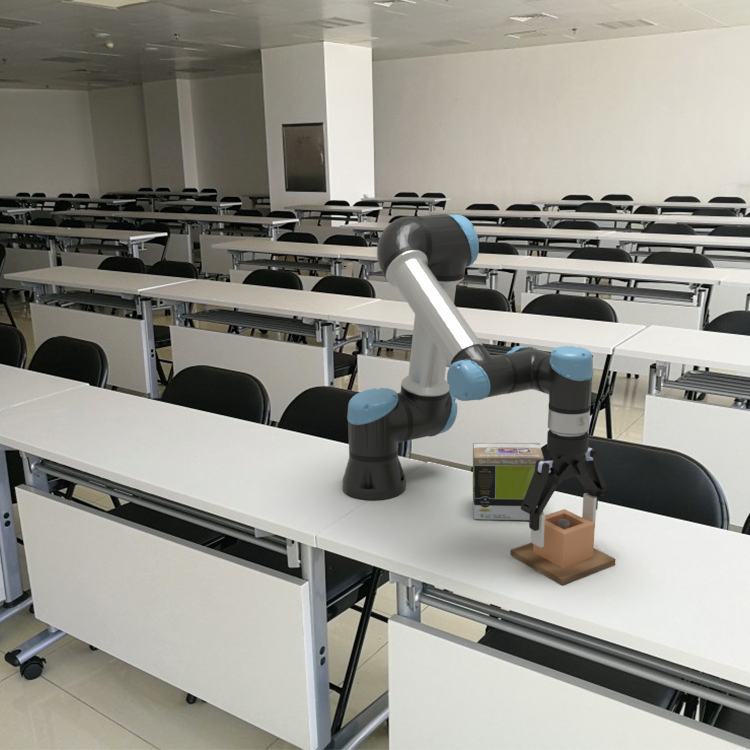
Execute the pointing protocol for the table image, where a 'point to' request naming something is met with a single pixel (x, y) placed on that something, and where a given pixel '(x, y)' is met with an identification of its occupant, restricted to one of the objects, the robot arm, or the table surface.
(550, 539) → the collar
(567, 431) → the robot arm
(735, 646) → the table surface
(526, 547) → the post board
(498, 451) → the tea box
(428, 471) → the table surface
